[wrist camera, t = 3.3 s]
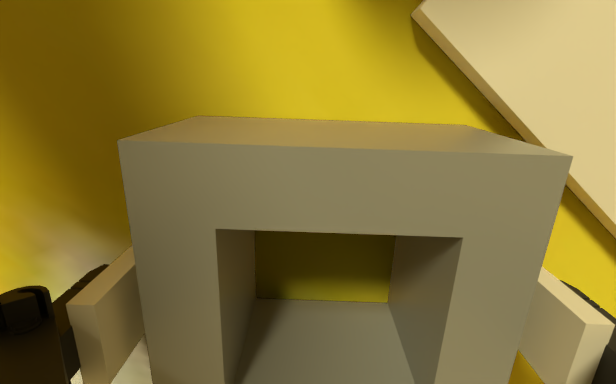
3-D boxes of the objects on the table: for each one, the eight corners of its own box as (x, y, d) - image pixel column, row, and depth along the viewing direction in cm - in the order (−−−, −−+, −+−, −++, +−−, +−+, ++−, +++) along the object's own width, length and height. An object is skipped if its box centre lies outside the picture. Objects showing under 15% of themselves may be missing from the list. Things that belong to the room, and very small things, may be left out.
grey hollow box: (197, 115, 14) (116, 140, 8) (465, 125, 14) (573, 155, 8) (216, 392, 18) (174, 531, 13) (415, 399, 18) (462, 542, 13)
